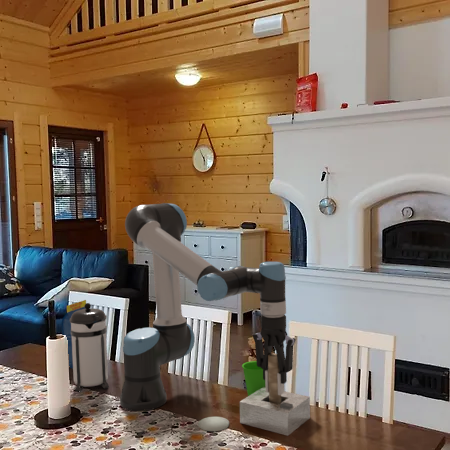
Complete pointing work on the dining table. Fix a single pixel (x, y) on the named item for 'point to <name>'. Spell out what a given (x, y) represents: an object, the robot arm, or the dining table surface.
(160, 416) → the dining table surface
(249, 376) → the cup
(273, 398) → the dowel
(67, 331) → the blue food package
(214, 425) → the pad
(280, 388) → the robot arm
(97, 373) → the coffee press
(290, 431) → the grey block with hole
